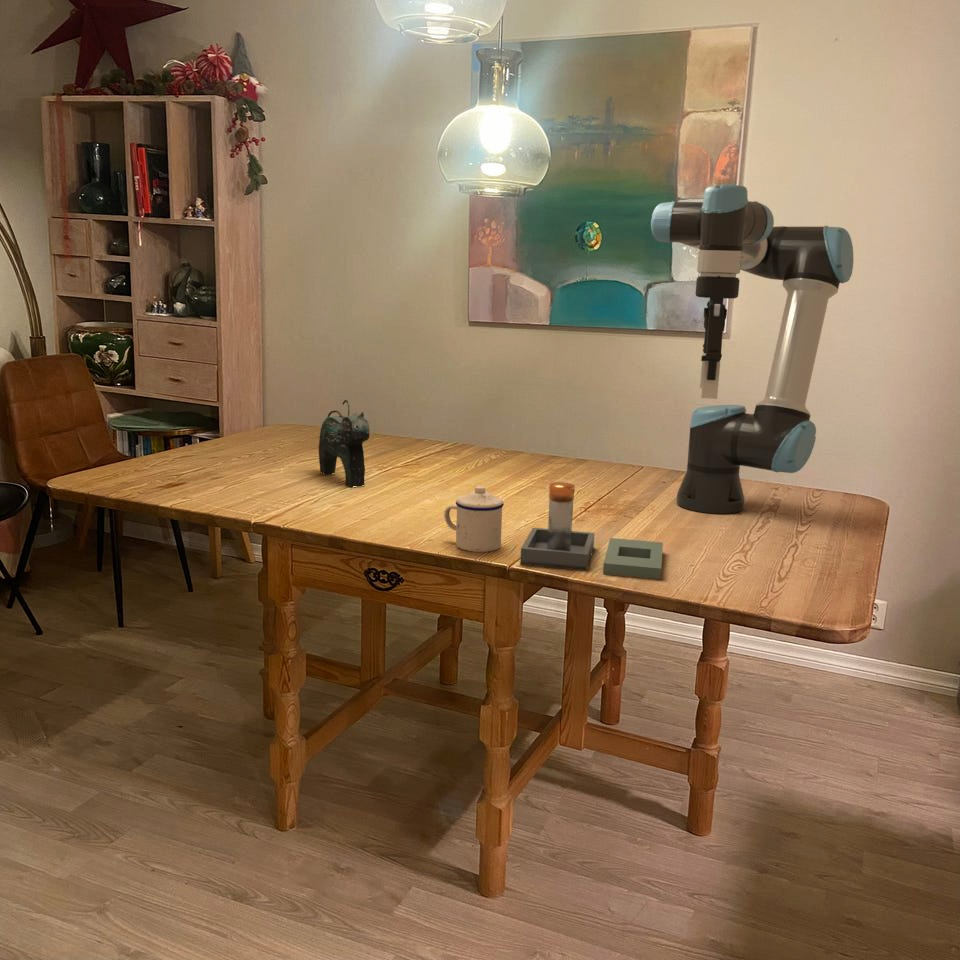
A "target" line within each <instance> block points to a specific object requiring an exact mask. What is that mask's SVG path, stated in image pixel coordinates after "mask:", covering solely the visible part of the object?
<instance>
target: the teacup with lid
mask: <svg viewBox="0 0 960 960" xmlns="http://www.w3.org/2000/svg"><path fill="white" fill-rule="evenodd" d="M504 506H505V505H504V501H503V499H502V498H500V496H496V495H493V494H492V493H491V492H489V491H486V487H485V486H484V485H483V486H482V485H480V486H479V485H478V486H475V487H474V490H472V491H470V492H469V493H467V494H463V495H460V496H458V497H457V499H456V501H455V504H451V505H448V506H447V507H446V508H445V510H444V515H443V516H444V521H445V522H446V525H447V527H449V528H450V529H451V530H453V531H456V533H455V545H456V547H457V548H458V549H461V550H463V551H466V550H467V552H471V551H473V553H486V552H487V553H488V551H489V552H492V551H496V550H498V549H500V548H501V545H502V528H503V527H502V524H503V523H502V522H503V521H502V520H503V507H504ZM451 510H456V525H455V524H454V523H453V522H452V519H451V517H450V513H451Z"/></svg>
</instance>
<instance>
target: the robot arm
mask: <svg viewBox="0 0 960 960" xmlns="http://www.w3.org/2000/svg"><path fill="white" fill-rule="evenodd" d="M748 193H749V191H748V188H747V187H746V186H744V185H739V184H738V185H736V184H715V185H714V184H713V185H709V186H707V187H706V189H705V190H704V193H703V199H702V201H680V202H679V201H675V200H674V201H669V202H661V203H659V204H657V206H655V208H654V210H653V211H652V215H651V221H650V228H651V233H652V237H654V240H656V241H657V242H662V243H669V244H671V243H680V244H683V245H685V246H689V247H692V248H695V249H697V250H698V255H697V267H696V272H697V273H698V274H699V276H698V277H696V283H695V292H694V293H695V296H696V297H697V298H704V299H706V298H707V299H709V301H707V303H706V306H707V307H704V308H703V318H704V319H703V328H704V338H703V344H702V348H703V349H702V353H703V354H702V355H701V359H700V361H701V371H700V380H699V389H701V397H700V398H701V399H711V400H712V399H714V400H718V392H719V381H720V371H721V360H722V357H723V356H722V355H723V354H722V347H723V345H722V344H723V333H724V331H725V327H726V319H727V316H728V309H727V308H726V305H725V304H724V299H732V300H733V299H737V298H738V297H739V291H740V278H739V277H737V275H739V274H741V271H742V272H745V273H749V274H751V275H754V276H758V277H761V278H765V279H768V280H776V281H777V280H779V281H782V287H783V289H784V290H785V291H786V293H787V296H786V300H785V305H784V309H783V313H782V317H781V322H780V326H779V331H778V337H777V340H776V345H775V350H774V353H773V360H772V362H771V363H772V364H771V368H770V372H769V377H768V381H767V386H766V391H765V395H764V398H763V399H762V400H761V401H759V402H758V403H756V404H755V406H754V407H755V408H754V413H746V412H747V409H746V406H745V405H740V404H717V405H708V406H707V405H706V406H701V407H697V408H696V409H694V410H693V412H692V414H691V420H690V425H689V439H688V450H687V465H686V472H685V474H684V477H683V478H682V481H681V483H680V486H679V488H678V491H677V492H676V501H675V502H676V504H677V505H678V506H679V507H682V508H683V509H686V510H691V511H693V512H694V511H695V512H701V513H706V514H733V513H734V514H735V513H740V512H741V511H743V510H745V509H744V508H745V501H746V500H745V495H744V491H743V487H742V483H741V479H740V478H741V477H740V466H742V467H746V468H747V467H748V468H753V469H760V470H766V471H772V472H773V473H774V472H775V473H785V474H786V473H788V474H794V473H797V472H799V471H801V470H802V469H803V468H804V466H805V465H806V464H807V462H809V459H810V457H811V455H812V453H813V450H814V447H815V442H816V434H817V427H816V424H815V423H814V422H812V420H811V413H810V411H809V410H808V409H807V407H806V403H807V399H808V393H809V390H810V385H811V380H812V375H813V371H814V366H815V362H816V357H817V353H818V349H819V344H820V339H821V334H822V329H823V325H824V322H825V321H824V320H825V315H826V312H827V309H828V308H827V307H828V303H829V299H830V298H832V297H833V296H835V295H836V294H838V292H839V287H840V284H845V283H847V282H849V281H850V279H851V277H852V275H853V268H854V246H853V241H852V238H851V235H850V233H849V231H848V230H847V229H845V228H844V227H840V226H829V225H824V226H783V225H781V226H774V225H775V221H774V220H775V218H774V215H773V213H772V210H771V209H770V208H769V207H768V206H767V205H766V204H763V203H761V202H759V201H757V200H755V201H754V200H753V201H749V199H748Z"/></svg>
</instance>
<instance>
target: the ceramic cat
mask: <svg viewBox="0 0 960 960" xmlns="http://www.w3.org/2000/svg"><path fill="white" fill-rule="evenodd" d="M344 404H347V408H348V410H347V413H348V414H347V416H343V415H342V414H341V412H340V411H339V410H331V411H329V413H328V414H327V417H326V418H325V419H324V421H323V422H322V424H321V428H320V433H319V440H318V460H319V461H318V462H319V472H320V473H321V472H322V473H324V474H332V473H335V474H336V467H337V462H338V461H337V459H338V458H339V459H340V461H341V464H342V466H343V469H344V475H345V486H347V485H349V486H348V487H350V486H351V487H350V488H352V487H353V486H362V485H364V486H365V473H366V466H365V454H364V448H363V443H365V442H366V441H368V440H369V439H370V424H369V421H368V420H367V418H366V417H365V414H364V413H365V412H364V411H362V412H360V414H358V415H357V411H356V412H354V413H353V414H352V415H350V403H349V401H348V399H345V400H343V402H342V405H344ZM335 413H337V414H338V415H339V416H331V414H335ZM362 487H363V486H362Z"/></svg>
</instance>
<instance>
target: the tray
mask: <svg viewBox="0 0 960 960" xmlns="http://www.w3.org/2000/svg"><path fill="white" fill-rule="evenodd" d="M547 537H548V528H542V527H532V528H531V530H530V532H529V534H528V535H527V537H526V539H525V541H524V542H523V544H522V546H521V547H520V561H519V562H520V563H519V564H520V565H523V566H524V565H525V566H535V567H536V566H538V567H547V568H555V569H557V568H558V569H565V570H577V571H586V570H588V568H587V567H589V564H590V561H591V559H592V558H591V557H592V555H591V554H593V552H594V548H595V547H594V546H595V532H587V531H577V530H572V533H571V551H562V550H551V549H547ZM592 551H593V552H592Z"/></svg>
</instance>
